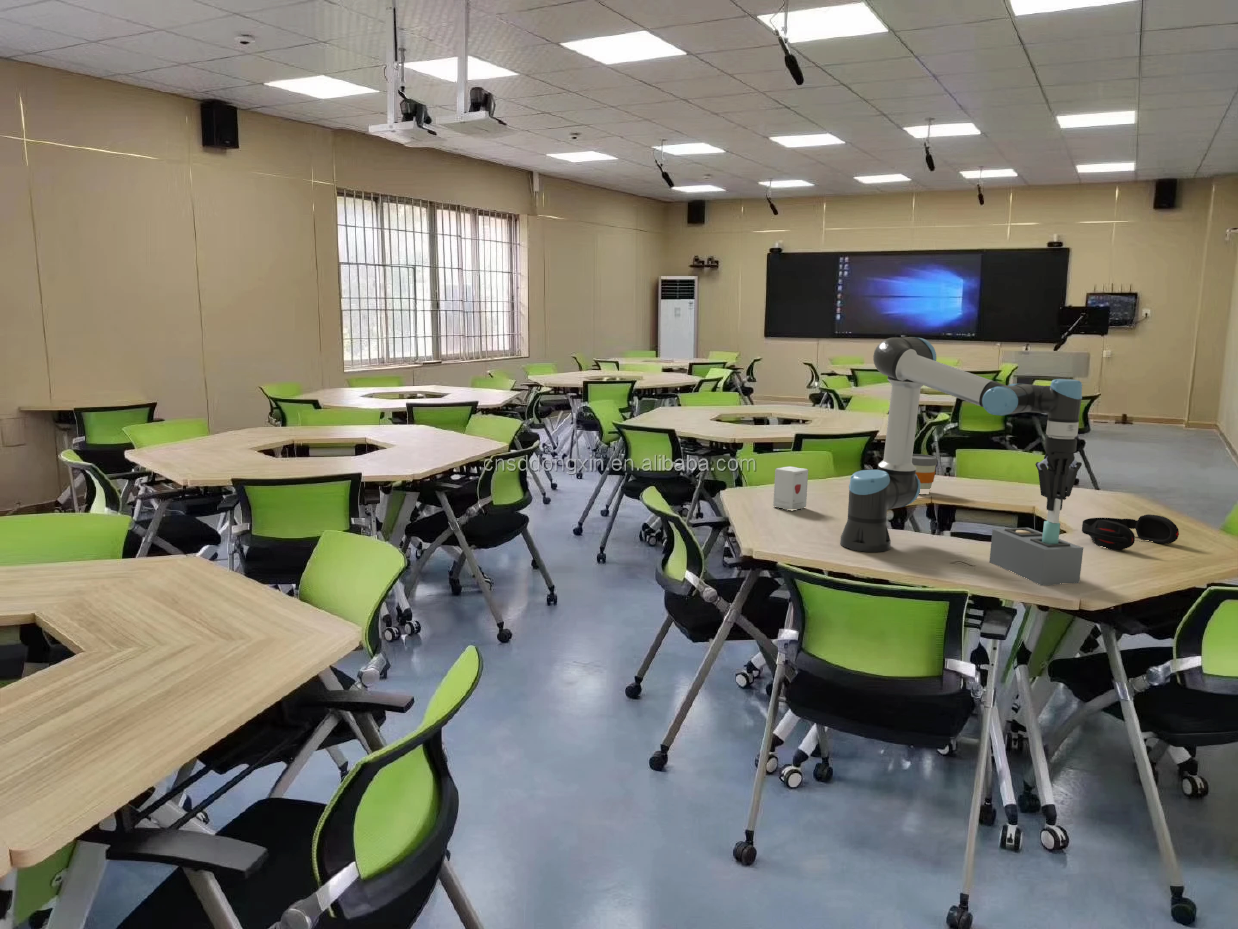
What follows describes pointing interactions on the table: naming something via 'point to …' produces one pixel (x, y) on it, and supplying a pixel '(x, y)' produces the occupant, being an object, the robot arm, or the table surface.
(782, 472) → the supplement box
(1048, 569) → the socket block
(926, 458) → the reusable coffee cup
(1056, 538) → the teal peg
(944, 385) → the robot arm
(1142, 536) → the headset
